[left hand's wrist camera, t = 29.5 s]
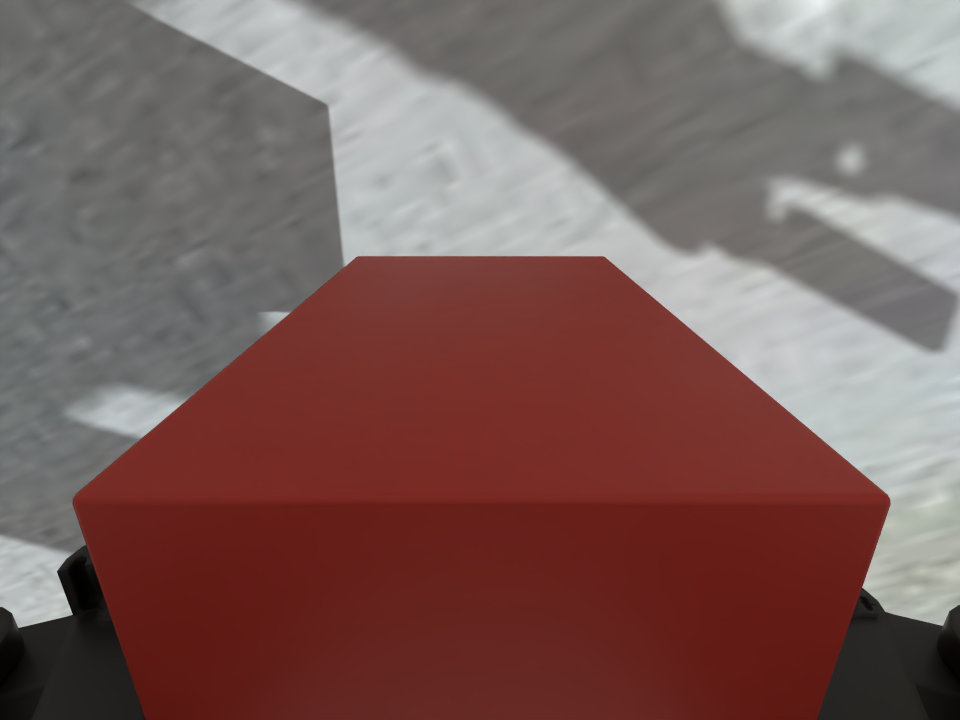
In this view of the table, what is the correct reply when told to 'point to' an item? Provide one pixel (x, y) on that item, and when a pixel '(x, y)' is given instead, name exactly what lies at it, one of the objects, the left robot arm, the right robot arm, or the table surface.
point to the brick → (481, 514)
